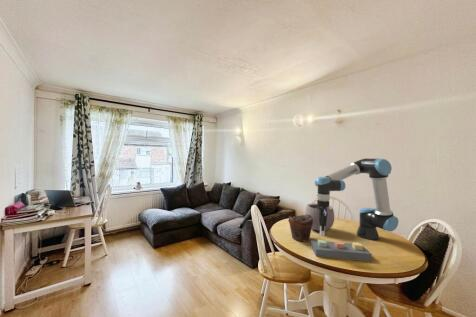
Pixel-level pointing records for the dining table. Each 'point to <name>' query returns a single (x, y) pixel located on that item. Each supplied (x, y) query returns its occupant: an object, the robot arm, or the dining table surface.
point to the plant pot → (314, 212)
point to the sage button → (322, 243)
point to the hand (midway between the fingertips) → (322, 235)
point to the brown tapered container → (301, 227)
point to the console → (341, 252)
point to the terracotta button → (339, 244)
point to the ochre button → (357, 246)
